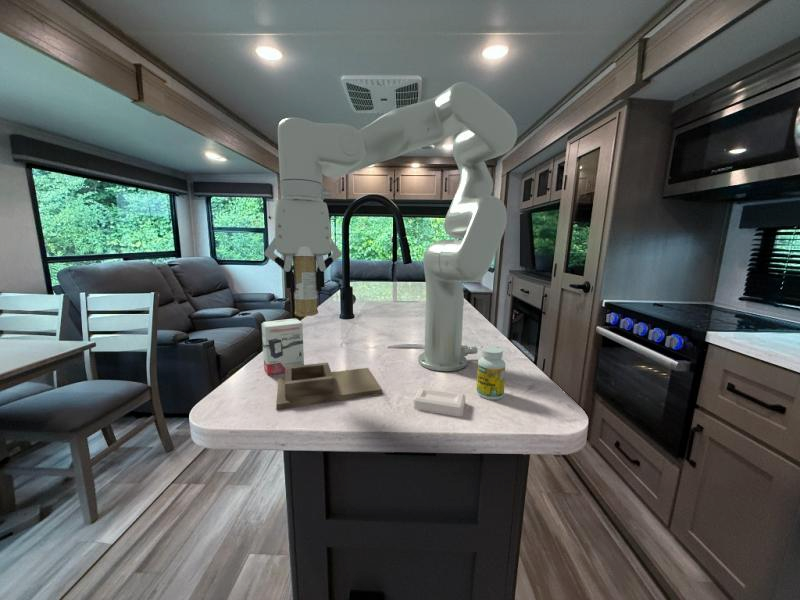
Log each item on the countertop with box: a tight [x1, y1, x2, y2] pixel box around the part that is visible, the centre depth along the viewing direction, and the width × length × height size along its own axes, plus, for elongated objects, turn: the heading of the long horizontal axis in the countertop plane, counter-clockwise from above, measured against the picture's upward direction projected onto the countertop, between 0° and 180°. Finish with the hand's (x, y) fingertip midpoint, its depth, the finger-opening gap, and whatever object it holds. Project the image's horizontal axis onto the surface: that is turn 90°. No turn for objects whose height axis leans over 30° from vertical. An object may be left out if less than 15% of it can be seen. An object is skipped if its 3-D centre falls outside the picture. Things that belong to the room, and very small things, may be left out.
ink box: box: [261, 318, 305, 376], centre depth 73 cm, size 8×5×12 cm, turn 123°
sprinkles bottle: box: [292, 247, 319, 318], centre depth 59 cm, size 5×5×13 cm
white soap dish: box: [412, 387, 466, 418], centre depth 57 cm, size 5×9×2 cm, turn 73°
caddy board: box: [275, 362, 383, 410], centre depth 64 cm, size 20×12×4 cm, turn 110°
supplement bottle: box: [476, 346, 506, 401], centre depth 61 cm, size 5×5×10 cm
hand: (305, 290), depth 59 cm, fingers closed on sprinkles bottle, 4 cm apart
